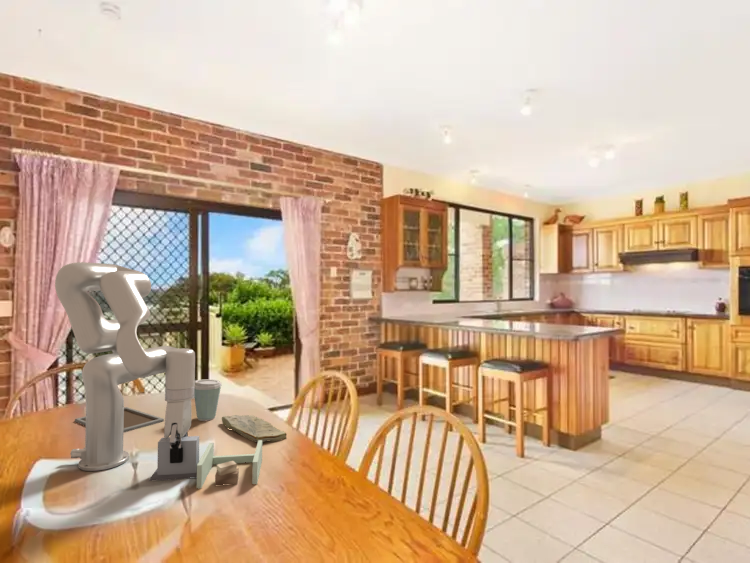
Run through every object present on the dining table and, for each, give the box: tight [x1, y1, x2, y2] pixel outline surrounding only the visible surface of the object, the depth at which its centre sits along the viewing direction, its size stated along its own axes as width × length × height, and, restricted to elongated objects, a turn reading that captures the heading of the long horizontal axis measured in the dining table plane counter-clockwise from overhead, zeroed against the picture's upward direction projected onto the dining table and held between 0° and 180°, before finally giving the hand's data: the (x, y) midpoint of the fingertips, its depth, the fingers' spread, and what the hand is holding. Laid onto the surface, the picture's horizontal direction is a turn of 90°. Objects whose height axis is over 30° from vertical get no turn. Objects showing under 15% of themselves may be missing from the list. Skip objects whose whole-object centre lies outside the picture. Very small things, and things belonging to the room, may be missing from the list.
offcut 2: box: [214, 467, 239, 486], centre depth 113 cm, size 6×3×3 cm, turn 103°
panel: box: [148, 468, 197, 482], centre depth 118 cm, size 13×7×1 cm, turn 100°
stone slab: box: [221, 414, 288, 444], centre depth 153 cm, size 12×4×30 cm
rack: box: [196, 440, 263, 489], centre depth 119 cm, size 15×16×6 cm
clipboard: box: [74, 406, 165, 433], centre depth 162 cm, size 19×2×30 cm
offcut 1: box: [216, 461, 238, 476], centre depth 114 cm, size 4×3×2 cm, turn 130°
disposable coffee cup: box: [194, 379, 222, 422], centre depth 166 cm, size 11×11×15 cm
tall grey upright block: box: [156, 435, 200, 475], centre depth 118 cm, size 10×4×9 cm, turn 100°
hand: (178, 458), depth 118 cm, fingers open, 4 cm apart
